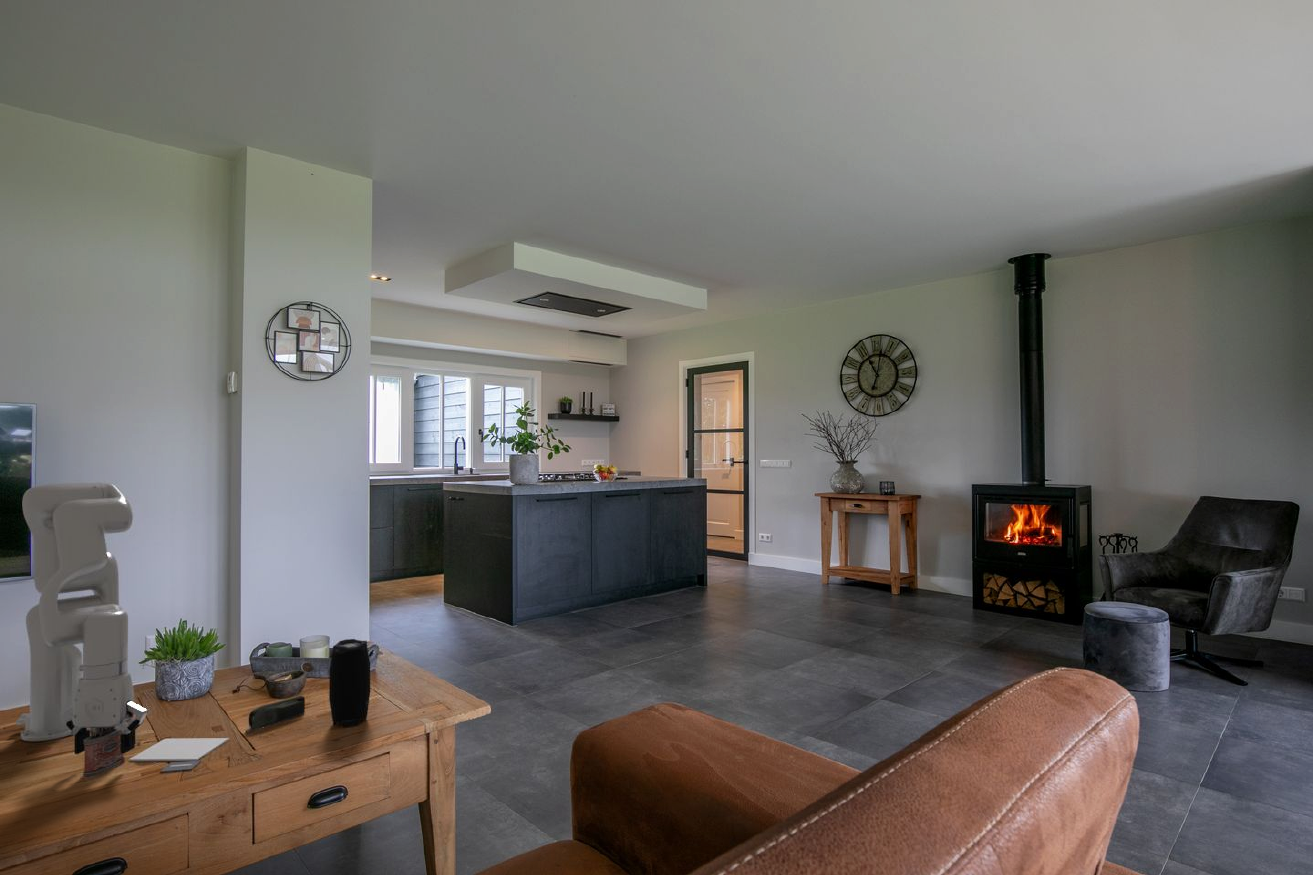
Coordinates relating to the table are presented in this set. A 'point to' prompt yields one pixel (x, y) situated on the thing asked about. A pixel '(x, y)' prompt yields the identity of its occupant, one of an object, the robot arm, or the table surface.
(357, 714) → the portable speaker
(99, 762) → the lighter
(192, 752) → the paper
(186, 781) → the table surface
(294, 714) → the dark elongated piece
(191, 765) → the plate
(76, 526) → the robot arm
